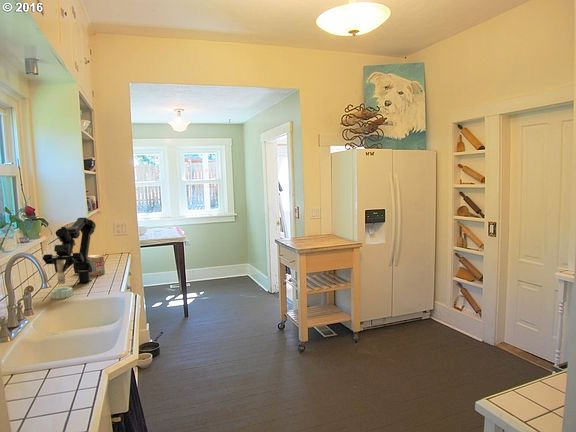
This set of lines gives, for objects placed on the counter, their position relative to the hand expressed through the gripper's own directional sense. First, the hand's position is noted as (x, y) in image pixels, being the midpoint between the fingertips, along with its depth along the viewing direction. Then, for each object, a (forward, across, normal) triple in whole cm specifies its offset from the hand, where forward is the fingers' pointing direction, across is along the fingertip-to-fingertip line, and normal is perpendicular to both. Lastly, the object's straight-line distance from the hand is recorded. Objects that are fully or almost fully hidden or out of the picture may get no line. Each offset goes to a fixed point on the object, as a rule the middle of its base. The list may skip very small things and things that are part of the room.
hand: (59, 271), depth 198 cm
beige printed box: (-31, -5, +50) cm, 59 cm away
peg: (+4, 0, +6) cm, 7 cm away
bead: (+8, 0, +10) cm, 13 cm away
